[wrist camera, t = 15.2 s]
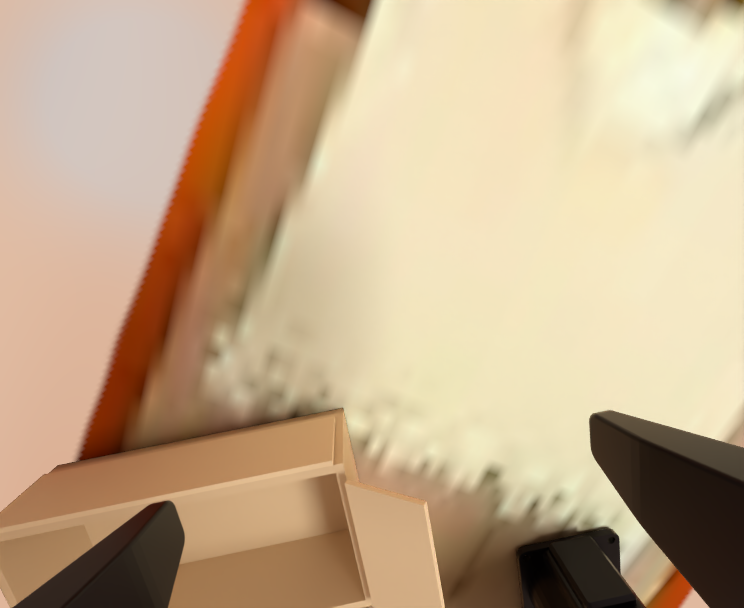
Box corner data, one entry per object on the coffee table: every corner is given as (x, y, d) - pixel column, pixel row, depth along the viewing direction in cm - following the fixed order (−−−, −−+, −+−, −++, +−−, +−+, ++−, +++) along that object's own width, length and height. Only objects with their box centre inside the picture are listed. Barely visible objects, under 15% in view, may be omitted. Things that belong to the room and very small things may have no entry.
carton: (370, 531, 24) (377, 616, 19) (109, 586, 24) (45, 687, 19) (341, 402, 22) (341, 458, 17) (55, 459, 22) (-33, 535, 17)
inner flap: (373, 610, 18) (376, 605, 19) (448, 646, 16) (450, 640, 16) (344, 483, 17) (347, 479, 17) (423, 505, 15) (426, 501, 15)
